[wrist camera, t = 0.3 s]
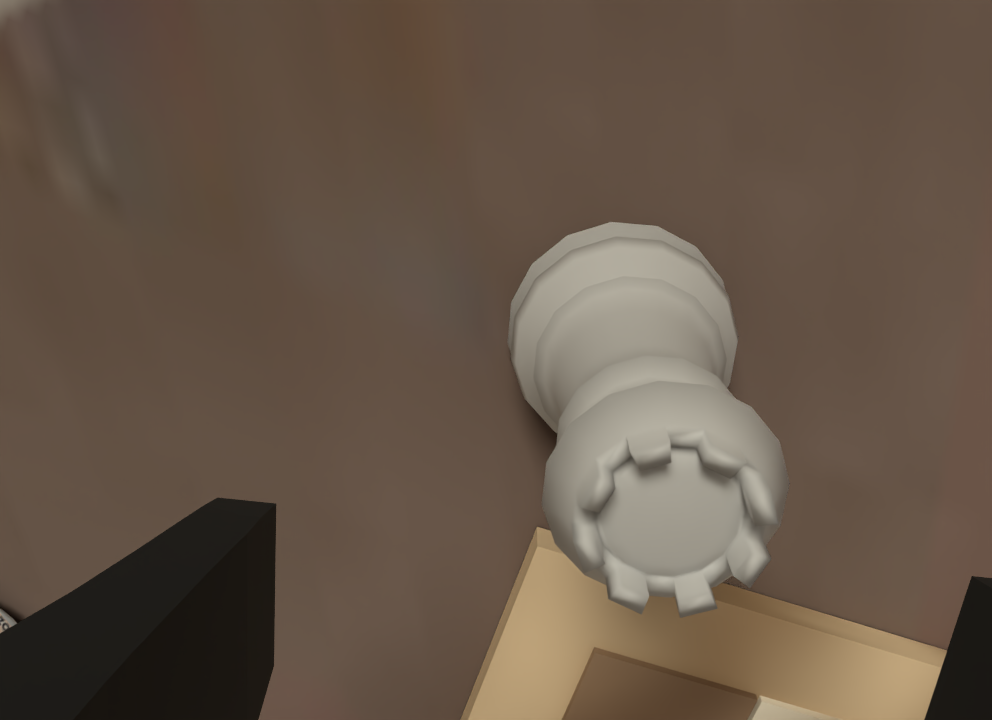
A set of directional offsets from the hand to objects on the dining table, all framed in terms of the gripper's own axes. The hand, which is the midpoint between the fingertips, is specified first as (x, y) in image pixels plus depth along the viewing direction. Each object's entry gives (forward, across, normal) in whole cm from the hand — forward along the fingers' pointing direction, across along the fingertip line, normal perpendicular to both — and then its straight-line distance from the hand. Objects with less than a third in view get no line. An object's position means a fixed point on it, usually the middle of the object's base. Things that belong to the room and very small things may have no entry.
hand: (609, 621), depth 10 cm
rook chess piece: (+10, -1, 0) cm, 10 cm away
